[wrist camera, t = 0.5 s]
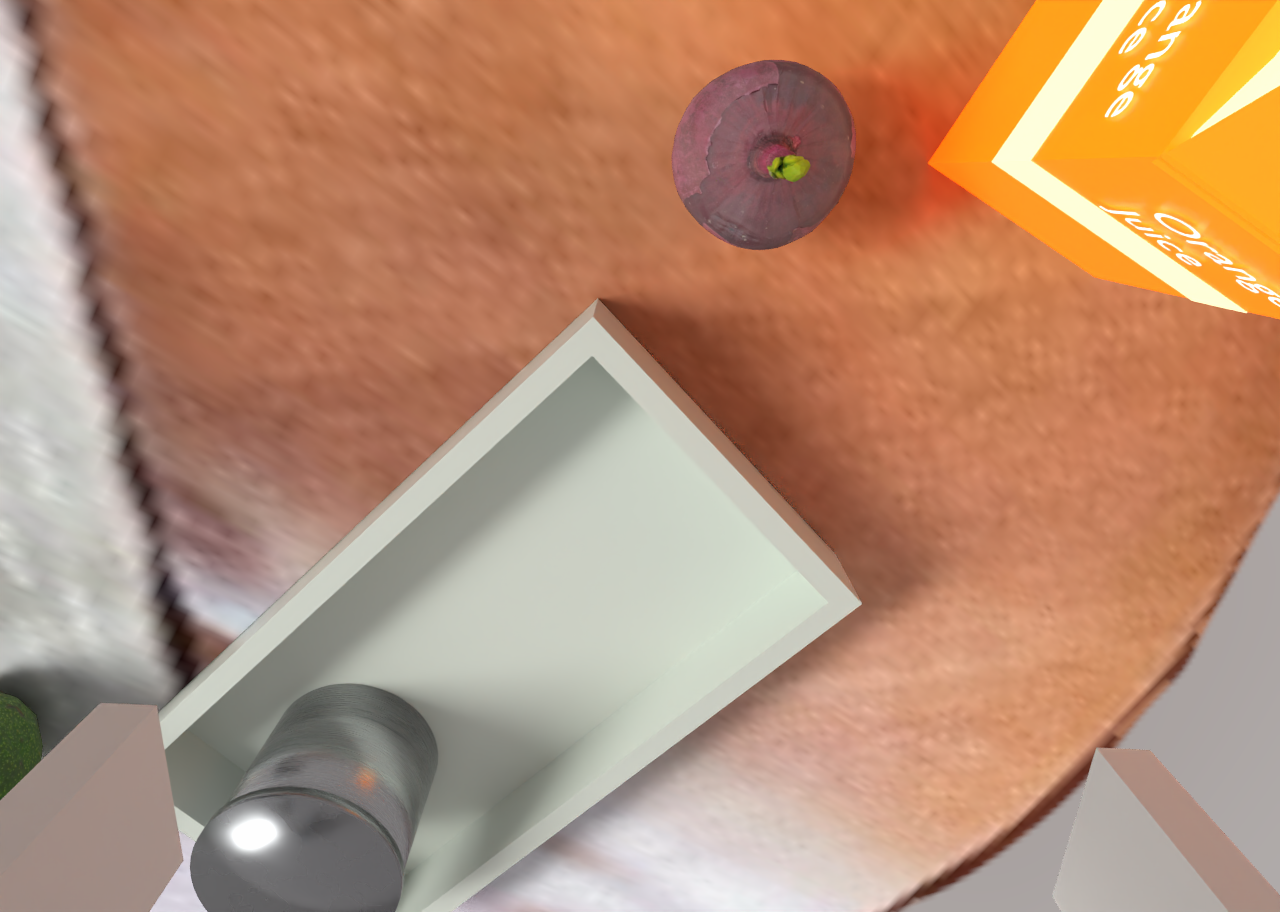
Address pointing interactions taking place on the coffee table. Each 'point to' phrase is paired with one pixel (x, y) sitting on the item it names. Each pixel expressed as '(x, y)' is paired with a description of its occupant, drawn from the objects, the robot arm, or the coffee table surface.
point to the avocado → (17, 742)
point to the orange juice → (1137, 143)
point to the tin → (322, 809)
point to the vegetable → (764, 153)
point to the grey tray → (532, 609)
